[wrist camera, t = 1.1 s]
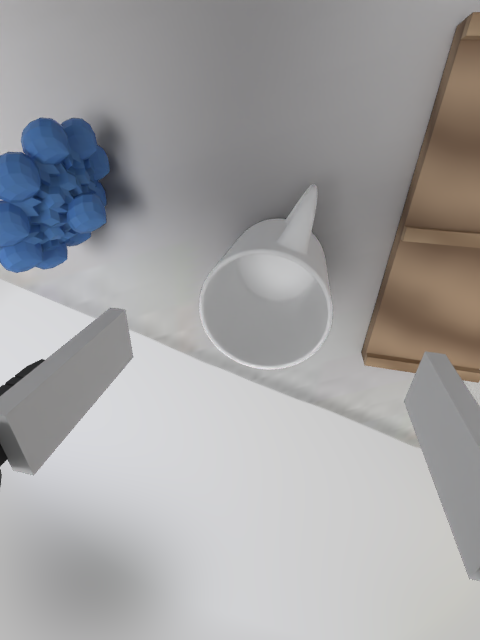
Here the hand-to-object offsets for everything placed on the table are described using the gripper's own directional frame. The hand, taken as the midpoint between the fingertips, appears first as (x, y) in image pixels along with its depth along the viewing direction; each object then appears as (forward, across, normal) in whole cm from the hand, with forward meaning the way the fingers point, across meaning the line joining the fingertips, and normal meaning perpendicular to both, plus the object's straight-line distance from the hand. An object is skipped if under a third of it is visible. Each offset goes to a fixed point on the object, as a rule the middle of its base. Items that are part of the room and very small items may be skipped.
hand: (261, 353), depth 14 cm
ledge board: (+17, +14, +3) cm, 22 cm away
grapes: (+17, -17, +3) cm, 24 cm away
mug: (+17, 0, 0) cm, 17 cm away
